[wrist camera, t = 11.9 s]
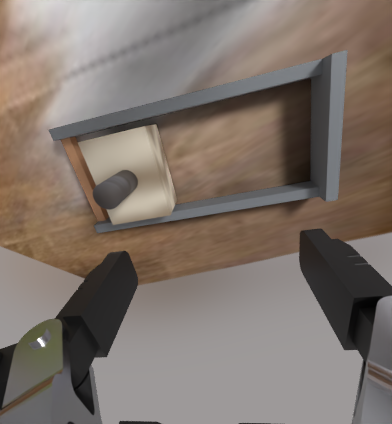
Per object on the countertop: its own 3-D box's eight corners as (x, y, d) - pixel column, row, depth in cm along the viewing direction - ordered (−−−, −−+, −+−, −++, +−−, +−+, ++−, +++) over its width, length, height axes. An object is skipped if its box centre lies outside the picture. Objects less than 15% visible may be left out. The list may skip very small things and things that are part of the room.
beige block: (100, 137, 32) (42, 149, 21) (156, 124, 30) (125, 129, 19) (127, 208, 36) (91, 248, 26) (177, 199, 35) (161, 237, 24)
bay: (62, 128, 32) (37, 130, 27) (323, 61, 26) (347, 49, 22) (105, 224, 39) (91, 239, 34) (320, 188, 33) (337, 199, 28)
